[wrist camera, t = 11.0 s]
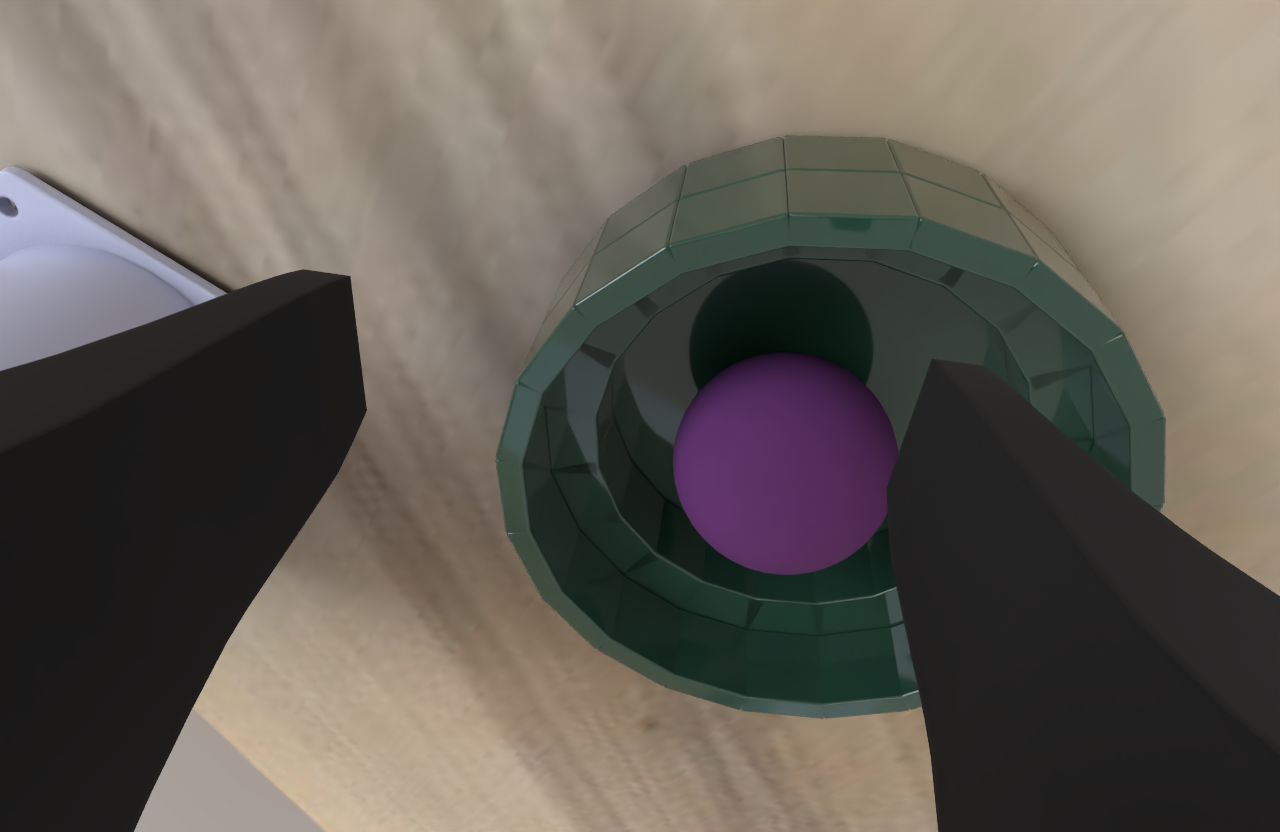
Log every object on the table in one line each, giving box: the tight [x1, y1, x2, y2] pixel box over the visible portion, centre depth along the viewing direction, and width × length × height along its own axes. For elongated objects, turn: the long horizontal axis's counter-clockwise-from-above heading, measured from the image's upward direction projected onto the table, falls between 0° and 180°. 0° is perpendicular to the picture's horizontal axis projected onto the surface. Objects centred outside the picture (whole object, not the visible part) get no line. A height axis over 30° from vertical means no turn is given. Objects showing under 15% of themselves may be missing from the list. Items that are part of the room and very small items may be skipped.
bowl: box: [496, 136, 1166, 719], centre depth 19 cm, size 13×13×5 cm
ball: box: [673, 352, 898, 575], centre depth 19 cm, size 5×5×5 cm
